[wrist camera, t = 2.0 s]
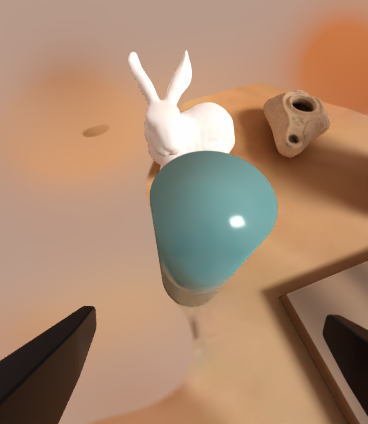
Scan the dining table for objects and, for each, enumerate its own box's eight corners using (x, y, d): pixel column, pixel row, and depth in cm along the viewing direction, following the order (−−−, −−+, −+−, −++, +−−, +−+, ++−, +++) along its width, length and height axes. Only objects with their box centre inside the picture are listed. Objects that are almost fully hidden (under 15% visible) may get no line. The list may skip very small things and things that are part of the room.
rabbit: (165, 204, 24) (160, 105, 14) (130, 154, 28) (107, 48, 18) (244, 166, 28) (285, 66, 18) (204, 126, 32) (219, 26, 22)
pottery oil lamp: (248, 158, 28) (251, 99, 25) (266, 137, 37) (270, 91, 34) (325, 162, 24) (342, 92, 21) (325, 138, 33) (337, 85, 29)
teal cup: (172, 315, 18) (172, 275, 7) (155, 258, 21) (136, 163, 10) (229, 294, 19) (303, 231, 8) (206, 241, 22) (240, 141, 11)
